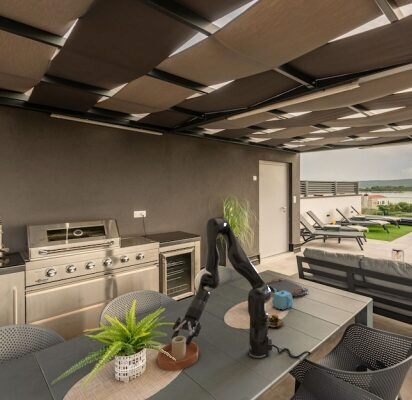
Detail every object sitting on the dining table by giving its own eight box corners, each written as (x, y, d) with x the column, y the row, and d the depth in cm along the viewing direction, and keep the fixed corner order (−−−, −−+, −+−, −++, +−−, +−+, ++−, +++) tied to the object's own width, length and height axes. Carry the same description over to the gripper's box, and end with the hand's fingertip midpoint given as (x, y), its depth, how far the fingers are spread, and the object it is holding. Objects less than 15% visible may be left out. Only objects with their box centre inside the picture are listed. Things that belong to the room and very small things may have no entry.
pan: (201, 347, 140) (201, 340, 140) (194, 369, 122) (194, 361, 122) (164, 348, 139) (165, 341, 139) (152, 371, 121) (152, 363, 121)
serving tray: (262, 286, 238) (262, 279, 238) (283, 281, 251) (283, 275, 251) (289, 300, 206) (289, 292, 206) (312, 294, 219) (312, 287, 218)
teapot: (279, 300, 205) (279, 285, 205) (296, 308, 191) (296, 292, 191) (266, 304, 197) (266, 288, 197) (283, 313, 183) (283, 296, 183)
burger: (260, 321, 170) (261, 309, 170) (278, 319, 174) (278, 307, 174) (267, 330, 159) (267, 317, 159) (286, 327, 163) (286, 315, 163)
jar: (186, 352, 134) (187, 335, 134) (183, 360, 128) (184, 342, 128) (173, 353, 134) (174, 335, 133) (170, 360, 127) (170, 342, 127)
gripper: (181, 303, 142) (164, 336, 131) (203, 308, 136) (187, 343, 125) (188, 310, 147) (172, 341, 136) (210, 315, 141) (195, 348, 130)
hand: (179, 342), depth 131 cm, fingers open, 8 cm apart
